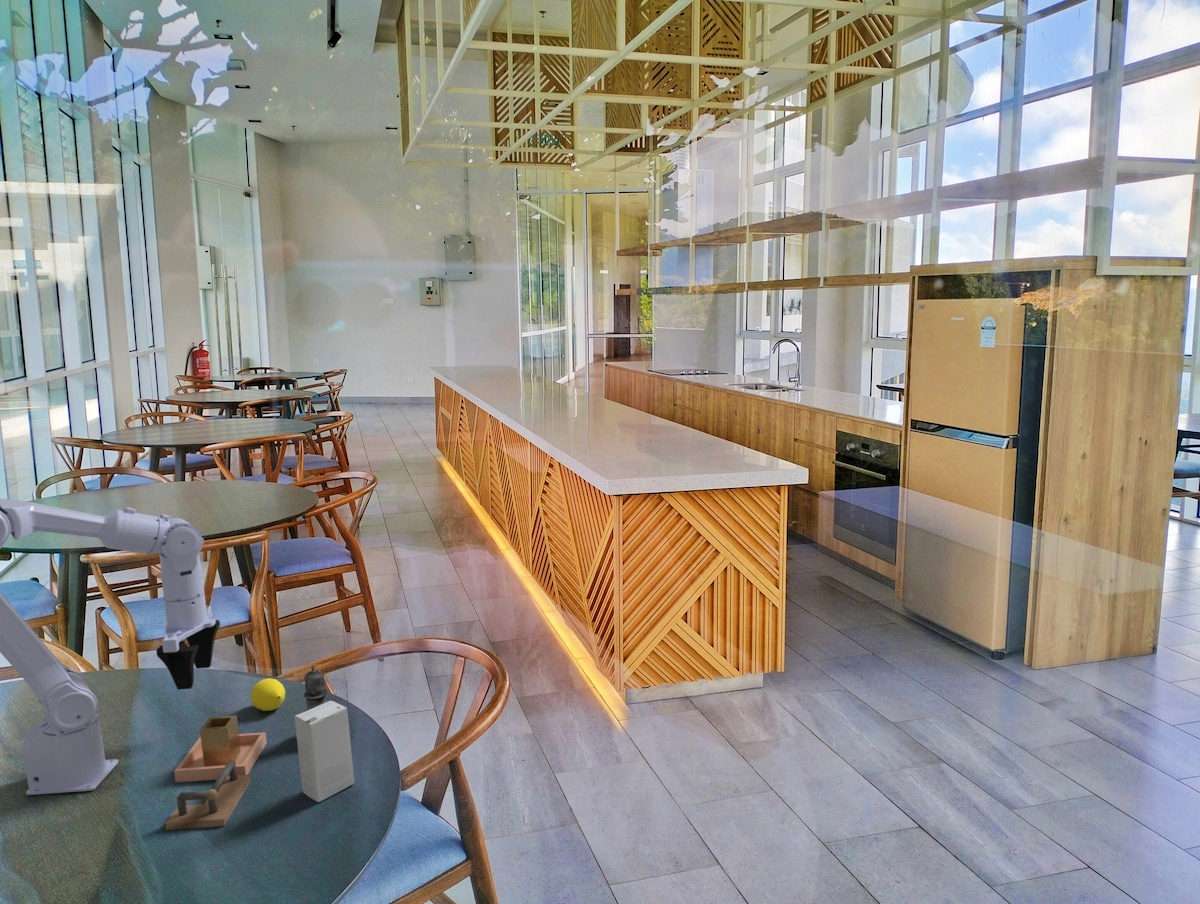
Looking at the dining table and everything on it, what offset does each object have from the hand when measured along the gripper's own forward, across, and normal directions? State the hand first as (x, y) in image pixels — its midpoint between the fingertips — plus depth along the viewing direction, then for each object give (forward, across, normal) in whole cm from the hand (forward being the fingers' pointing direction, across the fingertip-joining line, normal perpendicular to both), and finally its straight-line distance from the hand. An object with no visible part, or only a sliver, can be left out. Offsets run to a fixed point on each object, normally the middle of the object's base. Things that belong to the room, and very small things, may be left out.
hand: (194, 677), depth 137 cm
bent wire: (+10, -19, -8) cm, 23 cm away
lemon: (+11, +9, -8) cm, 16 cm away
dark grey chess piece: (+11, -2, -19) cm, 22 cm away
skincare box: (+11, -18, -24) cm, 32 cm away
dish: (+10, -8, -6) cm, 14 cm away
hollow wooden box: (+10, -8, -6) cm, 14 cm away
